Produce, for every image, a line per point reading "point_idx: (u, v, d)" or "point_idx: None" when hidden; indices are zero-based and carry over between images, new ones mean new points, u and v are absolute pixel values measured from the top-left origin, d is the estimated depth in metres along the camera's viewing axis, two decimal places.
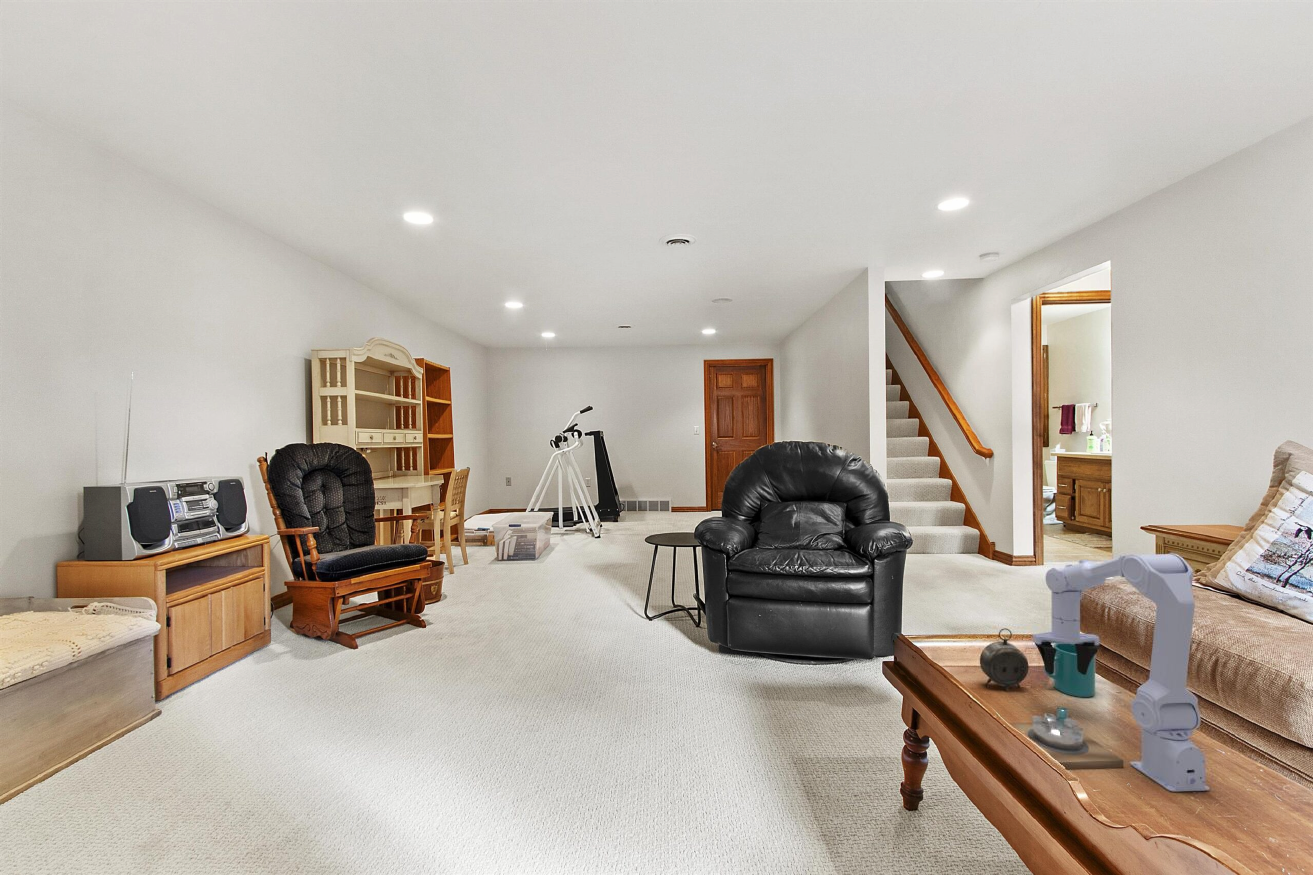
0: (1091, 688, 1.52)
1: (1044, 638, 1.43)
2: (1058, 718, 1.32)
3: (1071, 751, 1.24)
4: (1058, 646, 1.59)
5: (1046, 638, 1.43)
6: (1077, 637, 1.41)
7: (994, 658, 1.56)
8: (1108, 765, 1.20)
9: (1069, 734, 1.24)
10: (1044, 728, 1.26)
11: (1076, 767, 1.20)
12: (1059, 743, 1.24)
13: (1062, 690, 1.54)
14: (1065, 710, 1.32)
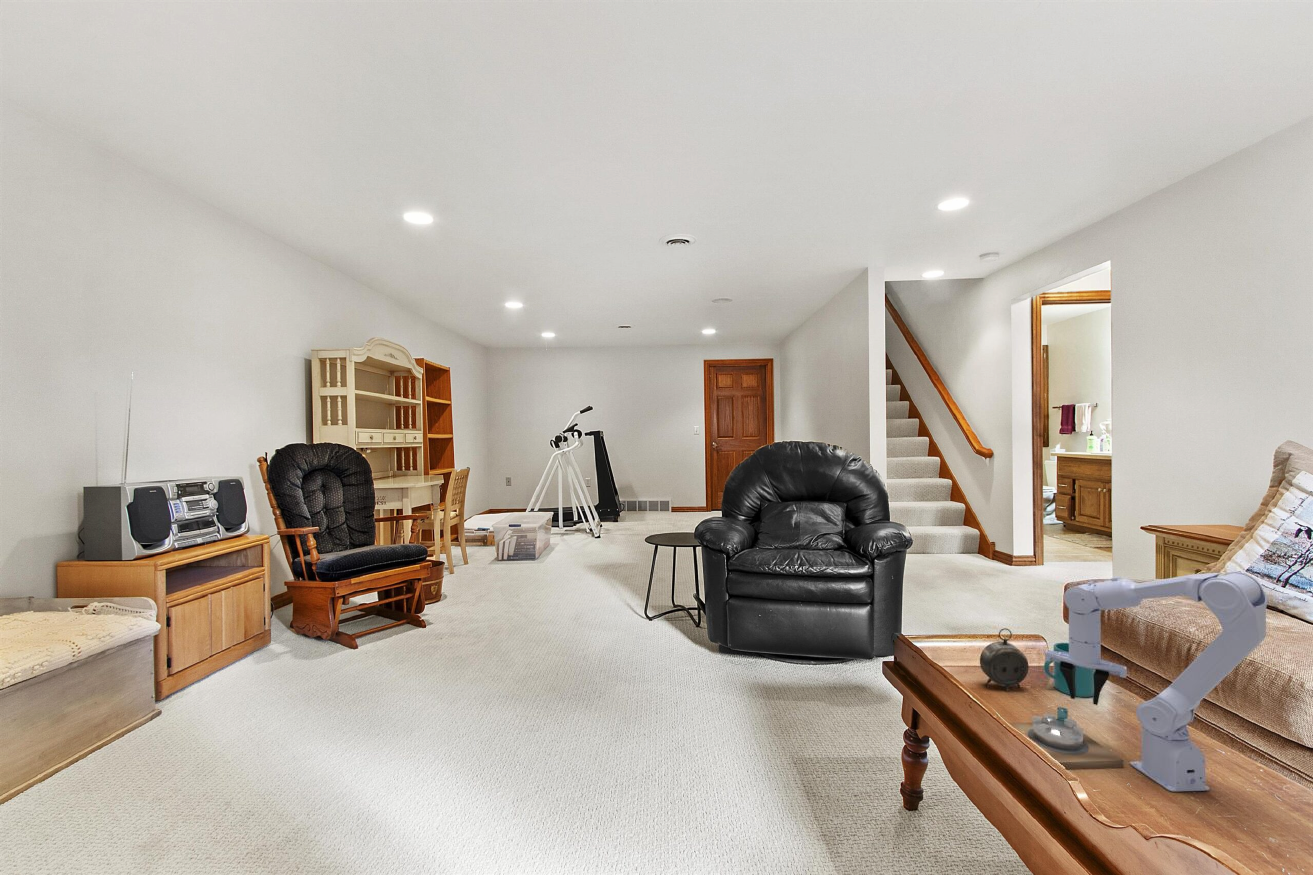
0: (1091, 688, 1.52)
1: (1052, 655, 1.33)
2: (1058, 718, 1.32)
3: (1071, 751, 1.24)
4: (1058, 646, 1.59)
5: (1055, 656, 1.33)
6: (1089, 662, 1.27)
7: (994, 658, 1.56)
8: (1108, 765, 1.20)
9: (1069, 734, 1.24)
10: (1044, 728, 1.26)
11: (1076, 767, 1.20)
12: (1059, 743, 1.24)
13: (1062, 690, 1.54)
14: (1065, 710, 1.32)
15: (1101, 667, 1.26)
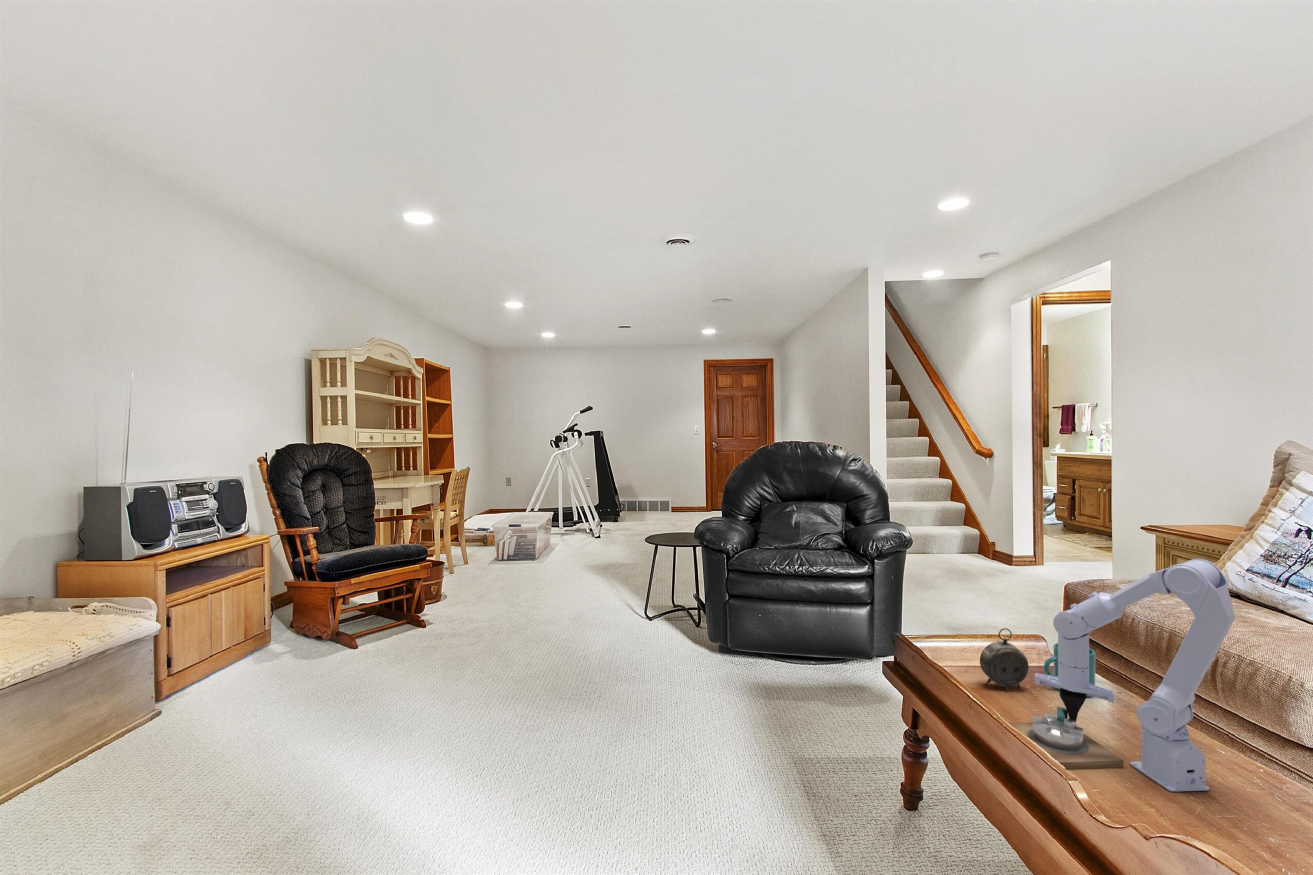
0: None
1: (1042, 679, 1.34)
2: (1058, 718, 1.32)
3: (1071, 751, 1.24)
4: None
5: (1044, 680, 1.34)
6: (1078, 686, 1.29)
7: (994, 658, 1.56)
8: (1108, 765, 1.20)
9: (1069, 734, 1.24)
10: (1044, 728, 1.26)
11: (1076, 767, 1.20)
12: (1059, 743, 1.24)
13: None
14: (1065, 710, 1.32)
15: (1089, 692, 1.28)
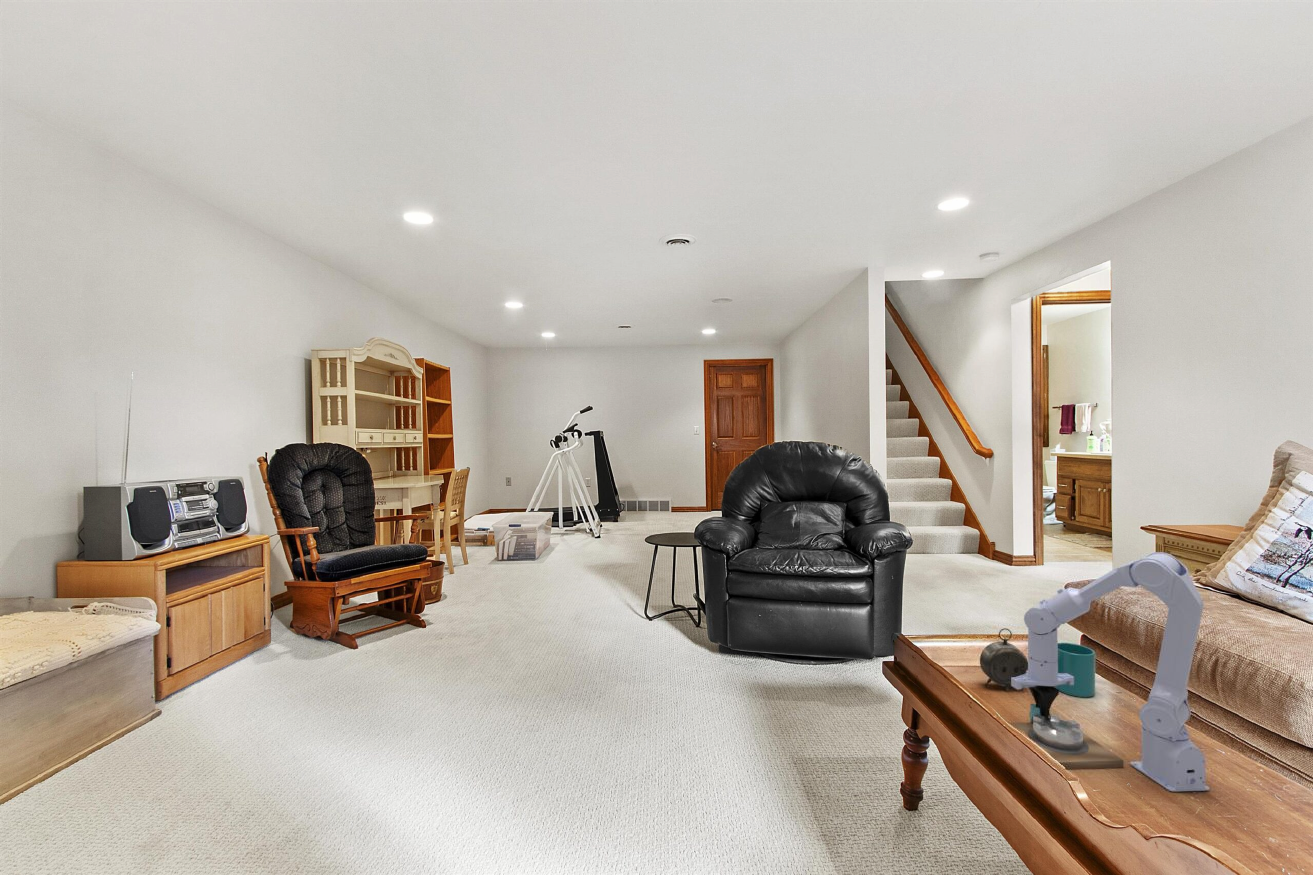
0: (1091, 688, 1.52)
1: (1024, 683, 1.33)
2: None
3: (1071, 751, 1.24)
4: (1058, 646, 1.59)
5: (1026, 683, 1.33)
6: (1056, 679, 1.32)
7: (994, 658, 1.56)
8: (1108, 765, 1.20)
9: (1082, 731, 1.25)
10: (1064, 734, 1.24)
11: (1076, 767, 1.20)
12: (1077, 744, 1.24)
13: (1062, 690, 1.54)
14: (1038, 706, 1.34)
15: (1062, 681, 1.33)
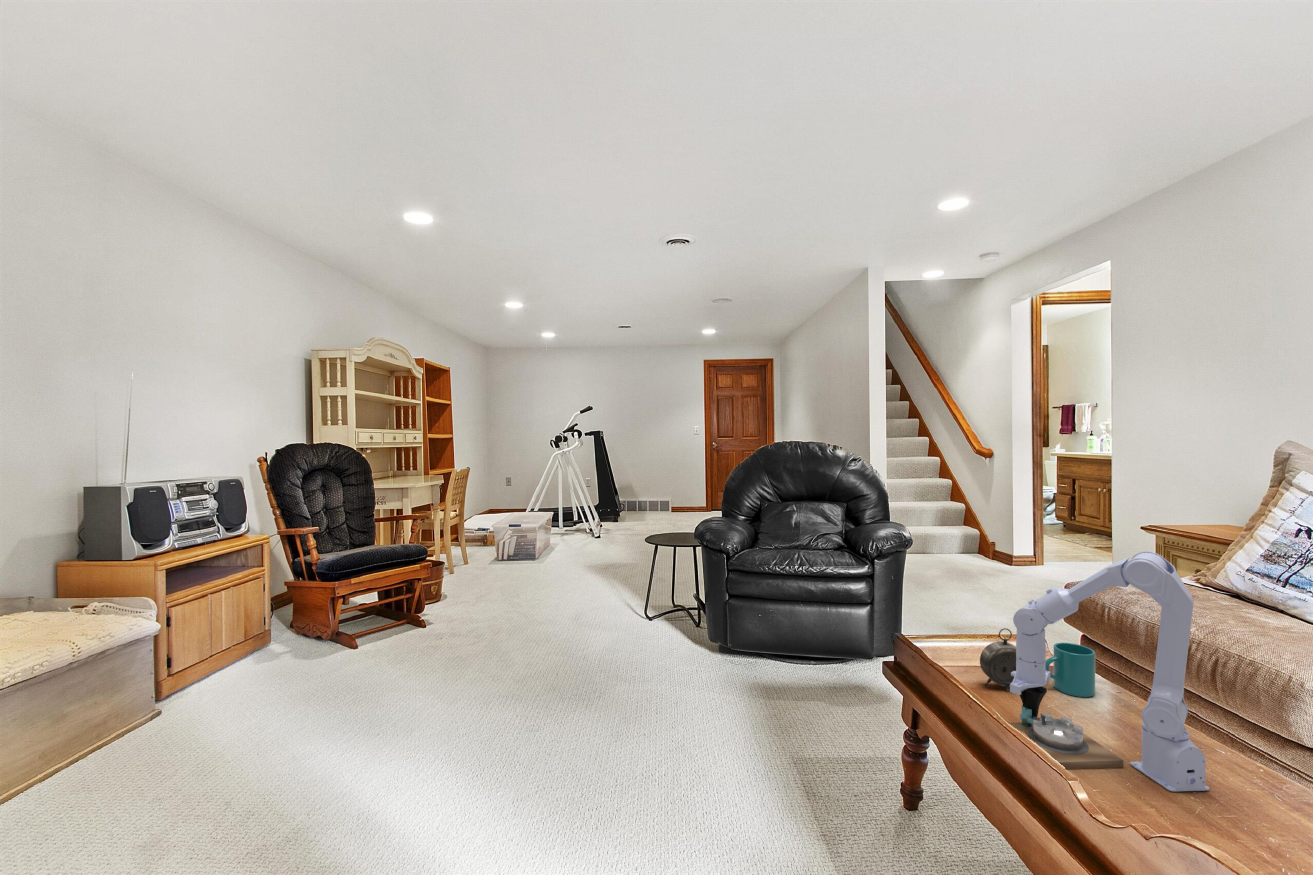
0: (1091, 688, 1.52)
1: (1023, 687, 1.31)
2: (1032, 718, 1.32)
3: (1071, 751, 1.24)
4: (1058, 646, 1.59)
5: (1025, 687, 1.31)
6: (1045, 678, 1.33)
7: (994, 658, 1.56)
8: (1108, 765, 1.20)
9: (1082, 728, 1.26)
10: (1074, 734, 1.24)
11: (1076, 767, 1.20)
12: (1082, 741, 1.25)
13: (1062, 690, 1.54)
14: (1029, 707, 1.34)
15: (1047, 679, 1.35)
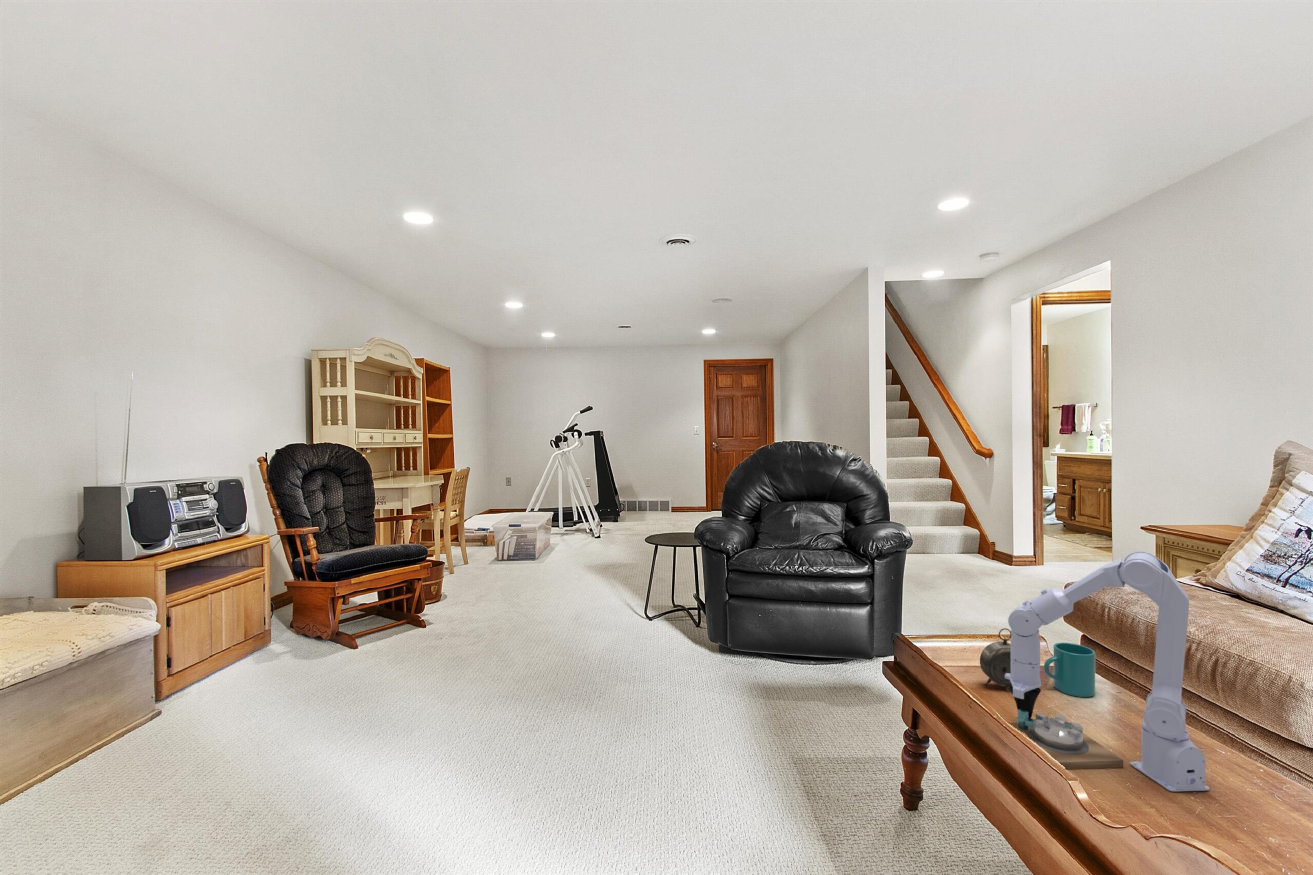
0: (1091, 688, 1.52)
1: (1025, 690, 1.29)
2: (1030, 721, 1.31)
3: (1071, 751, 1.24)
4: (1058, 646, 1.59)
5: (1026, 690, 1.29)
6: None
7: (994, 658, 1.56)
8: (1108, 765, 1.20)
9: None
10: (1079, 733, 1.24)
11: (1076, 767, 1.20)
12: None
13: (1062, 690, 1.54)
14: (1024, 709, 1.33)
15: None
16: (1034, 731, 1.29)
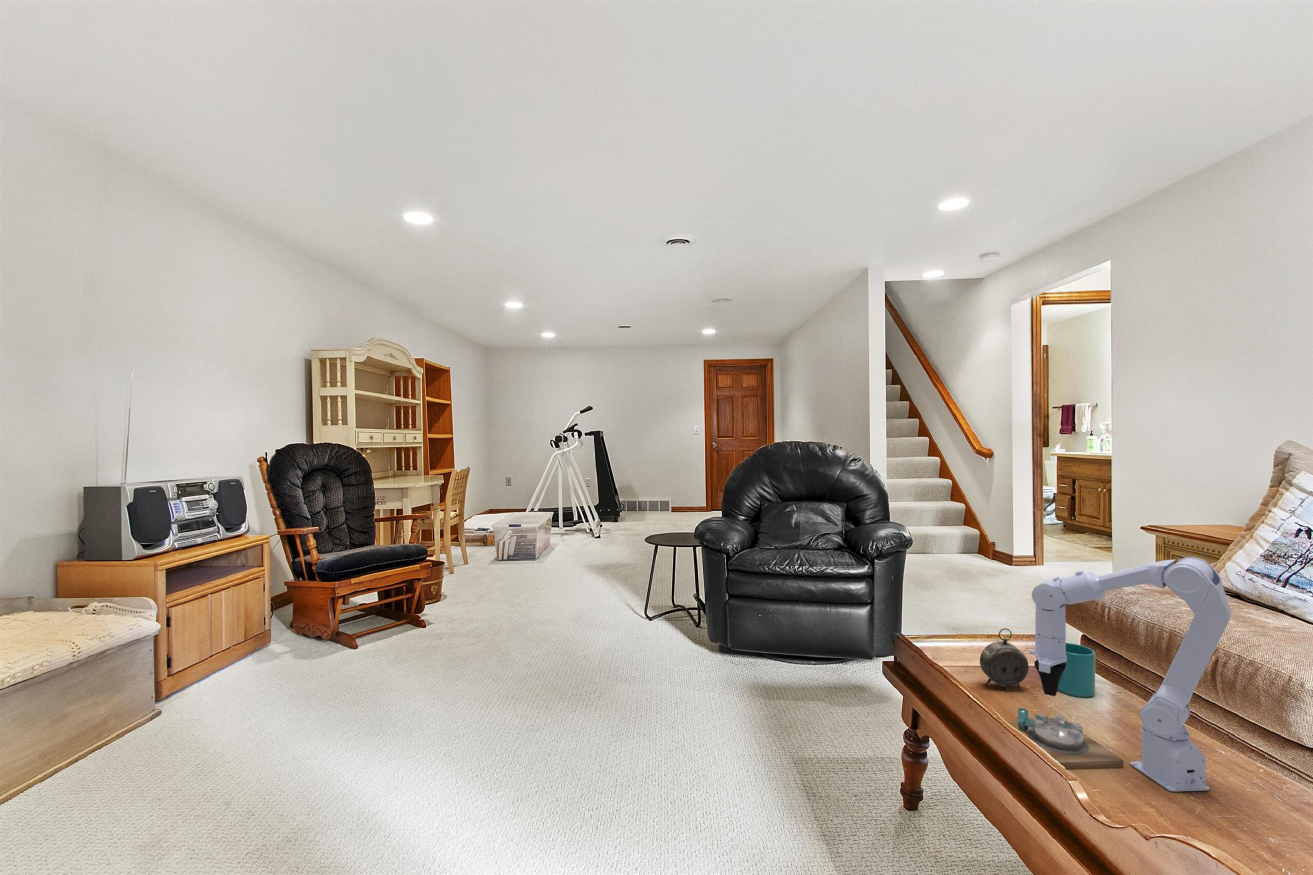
0: (1091, 688, 1.52)
1: (1052, 664, 1.28)
2: (1030, 721, 1.31)
3: (1071, 751, 1.24)
4: None
5: (1053, 664, 1.28)
6: None
7: (994, 658, 1.56)
8: (1108, 765, 1.20)
9: None
10: (1079, 733, 1.24)
11: (1076, 767, 1.20)
12: None
13: (1062, 690, 1.54)
14: (1024, 709, 1.33)
15: None
16: (1034, 731, 1.29)
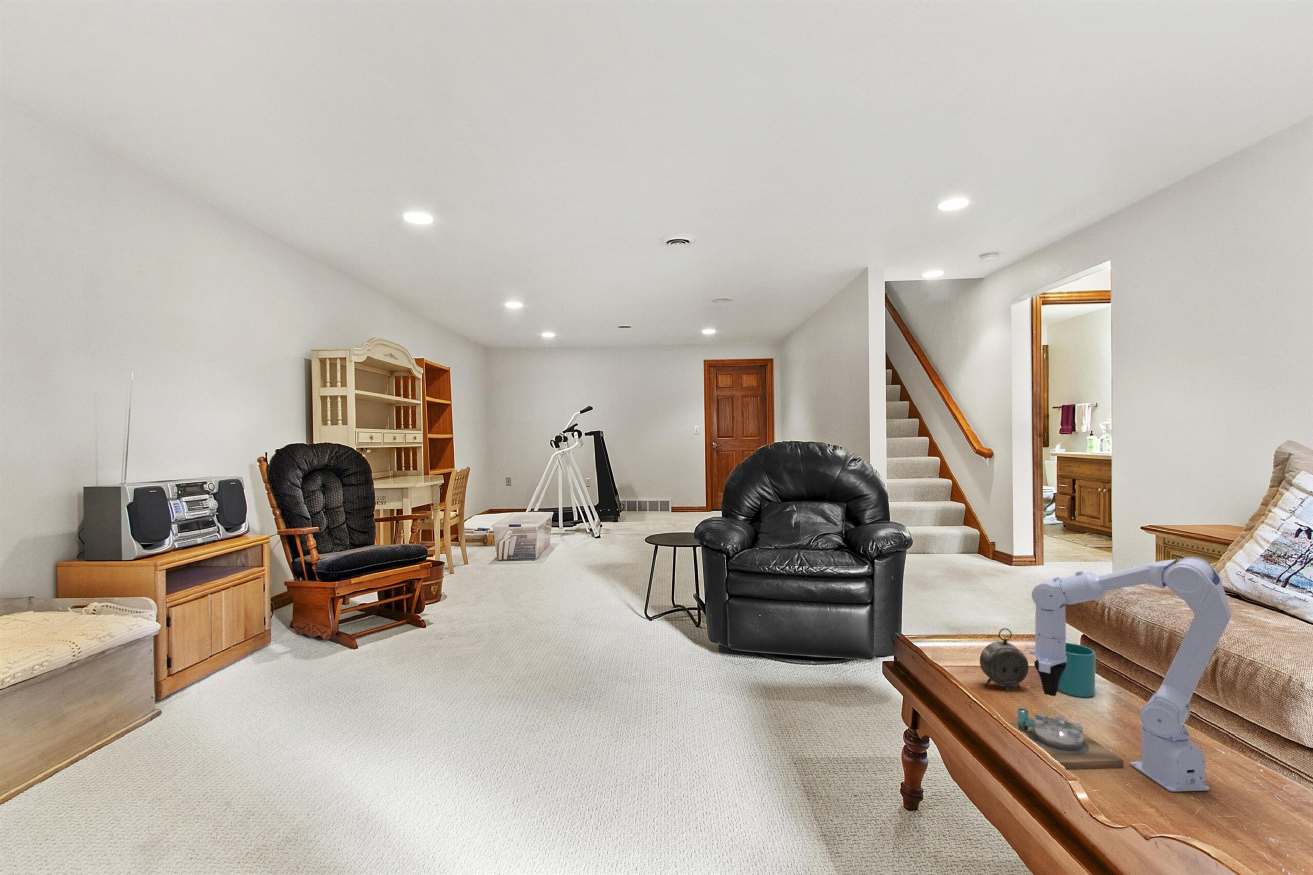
0: (1091, 688, 1.52)
1: (1052, 664, 1.28)
2: (1030, 721, 1.31)
3: (1071, 751, 1.24)
4: None
5: (1053, 664, 1.28)
6: None
7: (994, 658, 1.56)
8: (1108, 765, 1.20)
9: None
10: (1079, 733, 1.24)
11: (1076, 767, 1.20)
12: None
13: (1062, 690, 1.54)
14: (1024, 709, 1.33)
15: None
16: (1034, 731, 1.29)
